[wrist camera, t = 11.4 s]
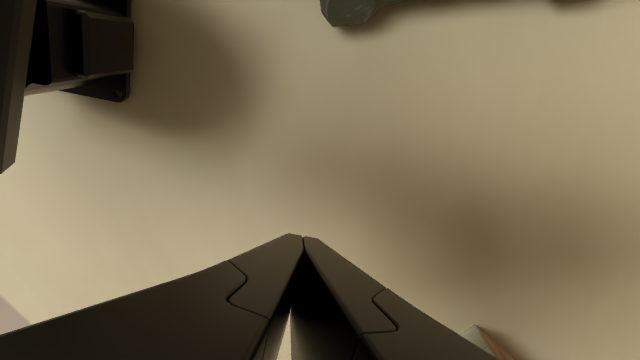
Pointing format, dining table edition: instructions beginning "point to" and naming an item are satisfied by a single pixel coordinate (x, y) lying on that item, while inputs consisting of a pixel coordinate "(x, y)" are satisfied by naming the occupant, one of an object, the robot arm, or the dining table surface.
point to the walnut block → (485, 343)
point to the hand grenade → (351, 10)
